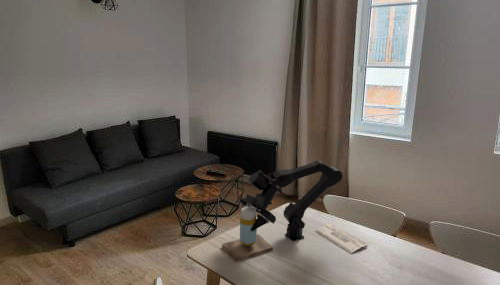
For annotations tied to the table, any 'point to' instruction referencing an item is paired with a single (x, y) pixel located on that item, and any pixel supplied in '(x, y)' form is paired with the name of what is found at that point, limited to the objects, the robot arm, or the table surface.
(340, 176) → the robot arm
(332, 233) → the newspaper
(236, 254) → the brown rectangular board
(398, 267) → the table surface
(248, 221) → the bottle
